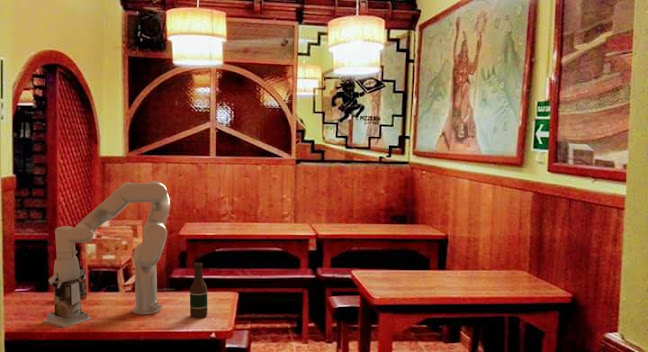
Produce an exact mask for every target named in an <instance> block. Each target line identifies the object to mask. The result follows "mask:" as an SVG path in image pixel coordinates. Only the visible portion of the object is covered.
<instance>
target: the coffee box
mask: <svg viewBox="0 0 648 352" xmlns="http://www.w3.org/2000/svg"><path fill="white" fill-rule="evenodd" d="M60 288H61V294H62V297H56V295H55V288H54V287H53V298H54V300H53V302H54V303H53V305H54V312H55V315H57V316H60V317H64V318H69V317H72V316H76V315H79V314H81V311H82V300H81V290H80V281H68V282H64V283H62V284H61V286H60Z"/></svg>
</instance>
